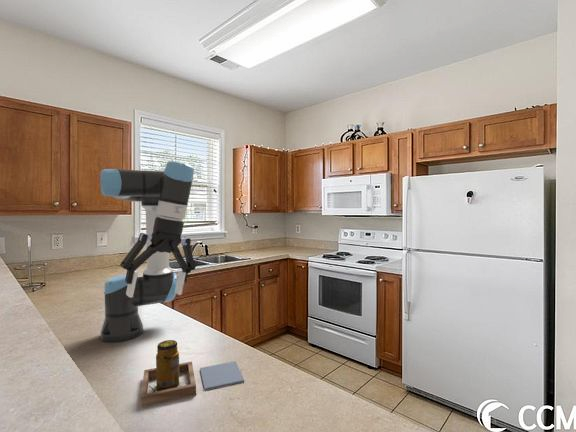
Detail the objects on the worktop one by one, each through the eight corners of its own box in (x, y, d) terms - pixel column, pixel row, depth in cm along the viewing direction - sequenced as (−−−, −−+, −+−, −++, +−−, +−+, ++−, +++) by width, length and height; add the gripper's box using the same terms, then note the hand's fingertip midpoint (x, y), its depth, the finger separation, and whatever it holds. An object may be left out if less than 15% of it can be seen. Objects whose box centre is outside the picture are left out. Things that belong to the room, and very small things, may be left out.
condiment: (174, 376, 94) (173, 336, 94) (188, 386, 88) (187, 344, 88) (149, 386, 89) (148, 344, 88) (163, 398, 83) (162, 353, 82)
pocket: (144, 378, 93) (144, 370, 93) (192, 369, 97) (191, 361, 97) (140, 407, 79) (140, 397, 79) (196, 394, 84) (196, 385, 84)
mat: (200, 369, 97) (200, 367, 97) (235, 363, 101) (235, 361, 101) (204, 390, 86) (204, 388, 86) (244, 381, 90) (244, 379, 90)
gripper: (128, 213, 75) (110, 301, 74) (215, 225, 93) (201, 296, 93) (117, 209, 80) (100, 292, 80) (202, 222, 98) (188, 289, 98)
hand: (155, 294), depth 86 cm, fingers open, 13 cm apart
